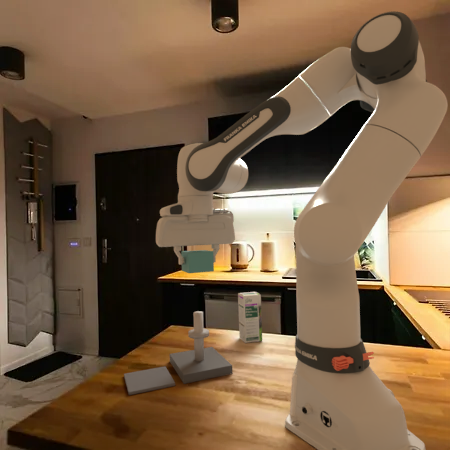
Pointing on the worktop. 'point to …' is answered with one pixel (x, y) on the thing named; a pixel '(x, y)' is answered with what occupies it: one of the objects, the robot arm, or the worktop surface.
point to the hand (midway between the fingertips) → (197, 263)
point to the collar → (198, 261)
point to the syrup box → (250, 317)
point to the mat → (148, 380)
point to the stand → (199, 357)
